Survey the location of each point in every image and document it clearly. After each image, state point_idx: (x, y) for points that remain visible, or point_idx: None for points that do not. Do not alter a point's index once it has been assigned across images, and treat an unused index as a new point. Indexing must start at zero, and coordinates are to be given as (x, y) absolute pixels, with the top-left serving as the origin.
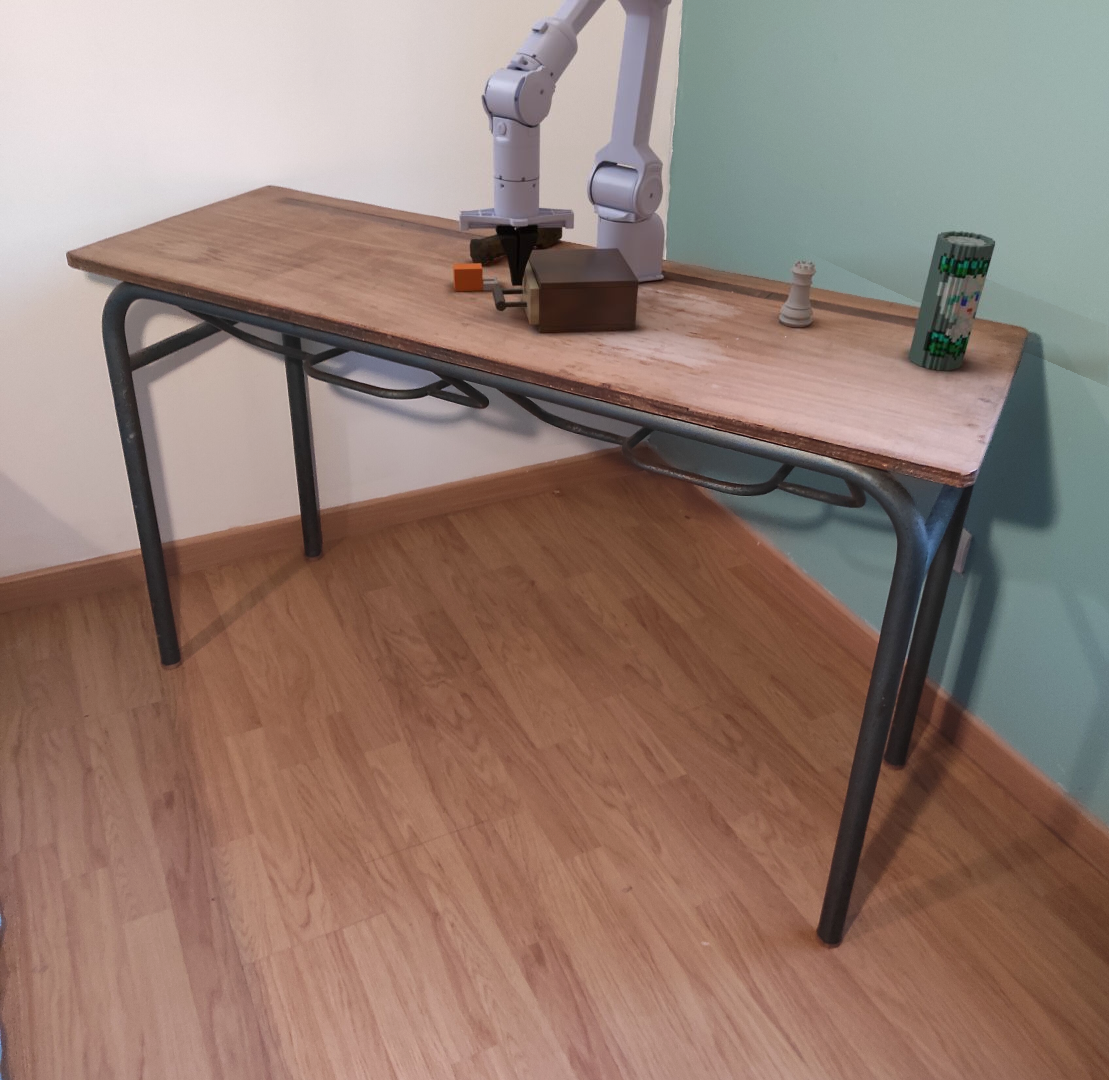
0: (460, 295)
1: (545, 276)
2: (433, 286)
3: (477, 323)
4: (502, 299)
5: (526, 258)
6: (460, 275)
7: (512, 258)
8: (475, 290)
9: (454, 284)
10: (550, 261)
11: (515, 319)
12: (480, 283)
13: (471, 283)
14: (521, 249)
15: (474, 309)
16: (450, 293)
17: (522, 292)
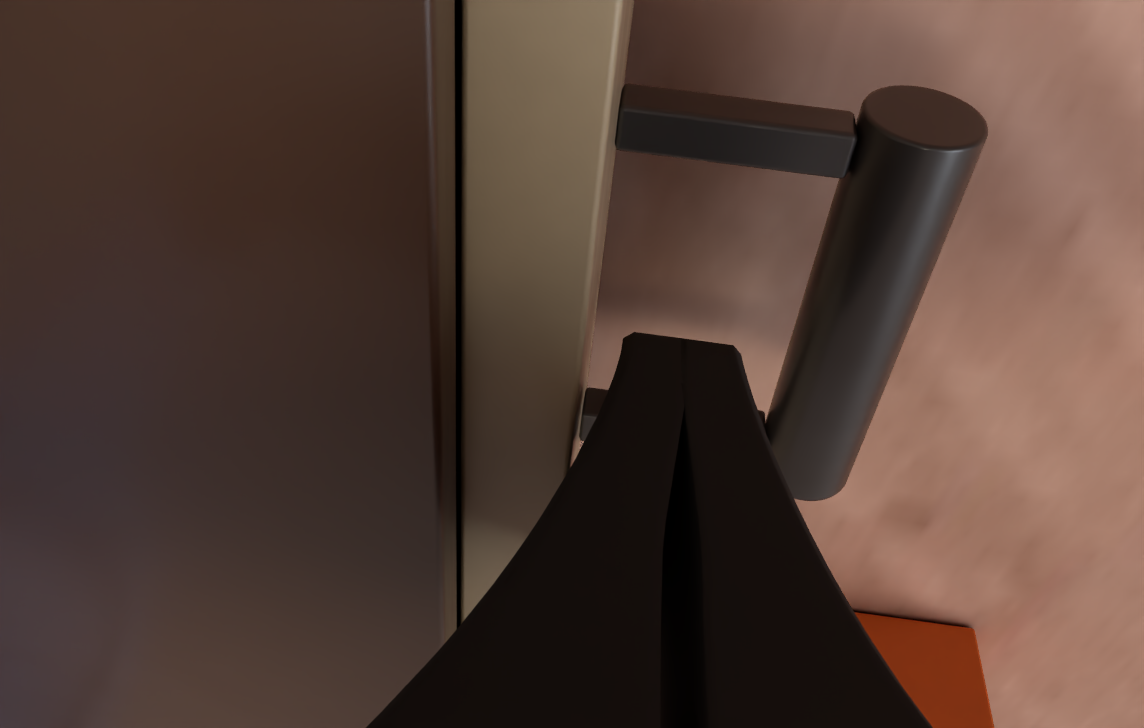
0: (968, 576)
1: (305, 136)
2: (1066, 700)
3: (1135, 73)
4: (892, 197)
5: (547, 566)
6: (951, 720)
7: (772, 604)
8: None
9: (977, 672)
10: (233, 582)
11: (725, 95)
12: None
13: None
14: (627, 705)
15: (992, 363)
16: (1018, 611)
17: (585, 397)
